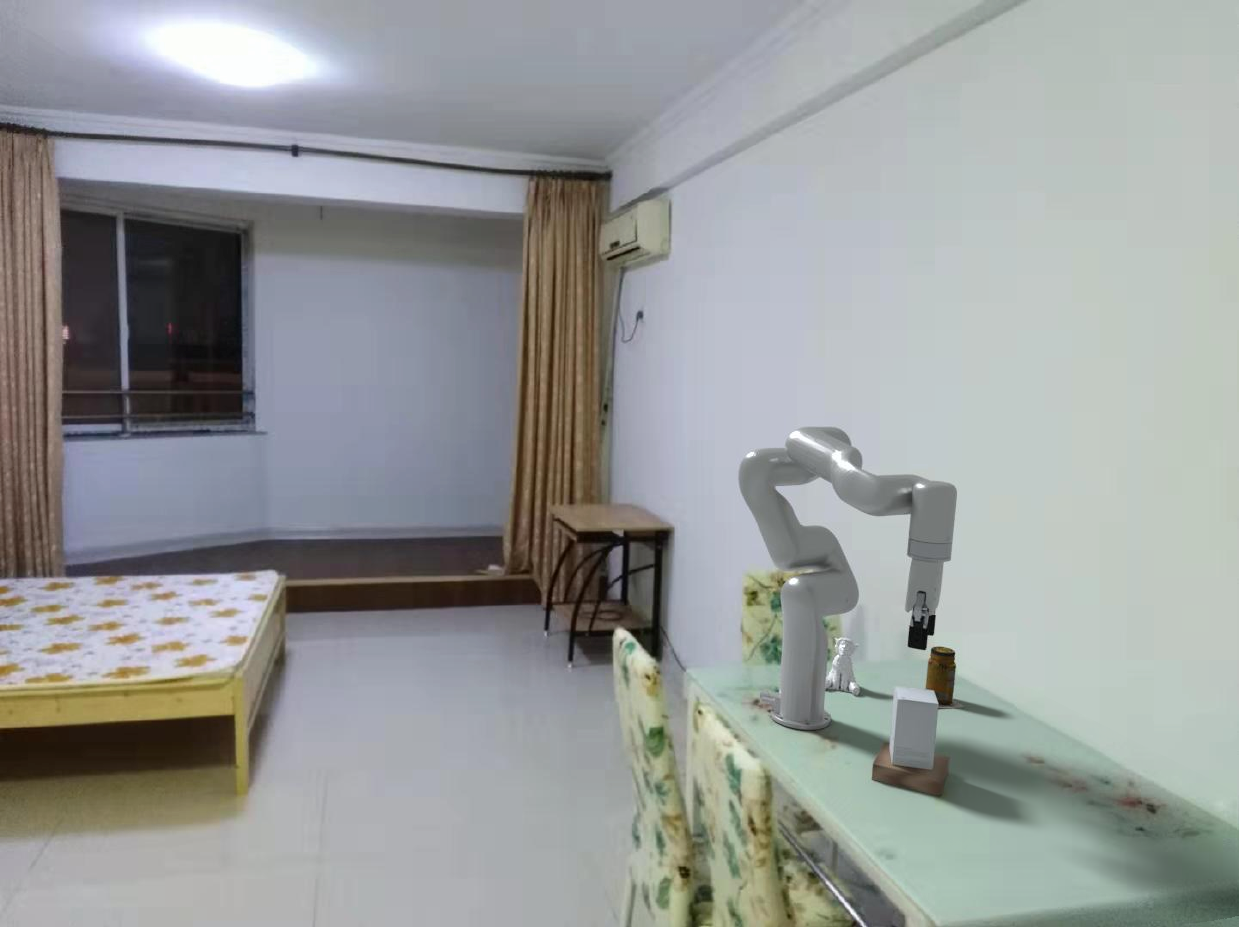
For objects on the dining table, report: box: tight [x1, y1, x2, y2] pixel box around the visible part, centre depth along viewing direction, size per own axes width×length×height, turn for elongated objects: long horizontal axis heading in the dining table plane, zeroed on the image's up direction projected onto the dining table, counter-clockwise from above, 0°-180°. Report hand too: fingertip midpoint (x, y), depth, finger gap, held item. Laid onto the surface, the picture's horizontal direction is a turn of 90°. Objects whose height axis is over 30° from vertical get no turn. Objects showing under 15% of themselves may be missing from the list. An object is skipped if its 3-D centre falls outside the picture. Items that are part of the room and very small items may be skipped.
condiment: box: [925, 646, 965, 709], centre depth 201 cm, size 7×8×12 cm
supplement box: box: [889, 686, 939, 770], centre depth 163 cm, size 7×7×13 cm
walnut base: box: [871, 742, 950, 797], centre depth 163 cm, size 12×11×3 cm
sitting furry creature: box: [825, 637, 861, 697], centre depth 207 cm, size 10×9×12 cm
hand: (920, 641), depth 161 cm, fingers open, 9 cm apart
